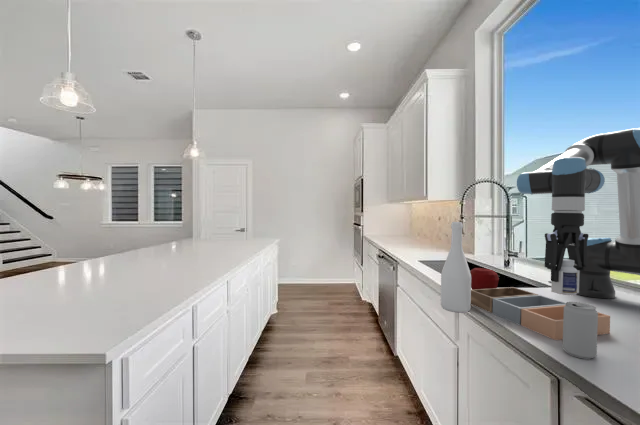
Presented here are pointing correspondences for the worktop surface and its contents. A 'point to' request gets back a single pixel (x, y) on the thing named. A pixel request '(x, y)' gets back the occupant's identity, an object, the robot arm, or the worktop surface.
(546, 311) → the terracotta bin
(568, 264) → the pill bottle
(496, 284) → the apple
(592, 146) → the robot arm
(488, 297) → the walnut bin
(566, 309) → the beverage can
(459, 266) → the wine bottle
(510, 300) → the slate bin
